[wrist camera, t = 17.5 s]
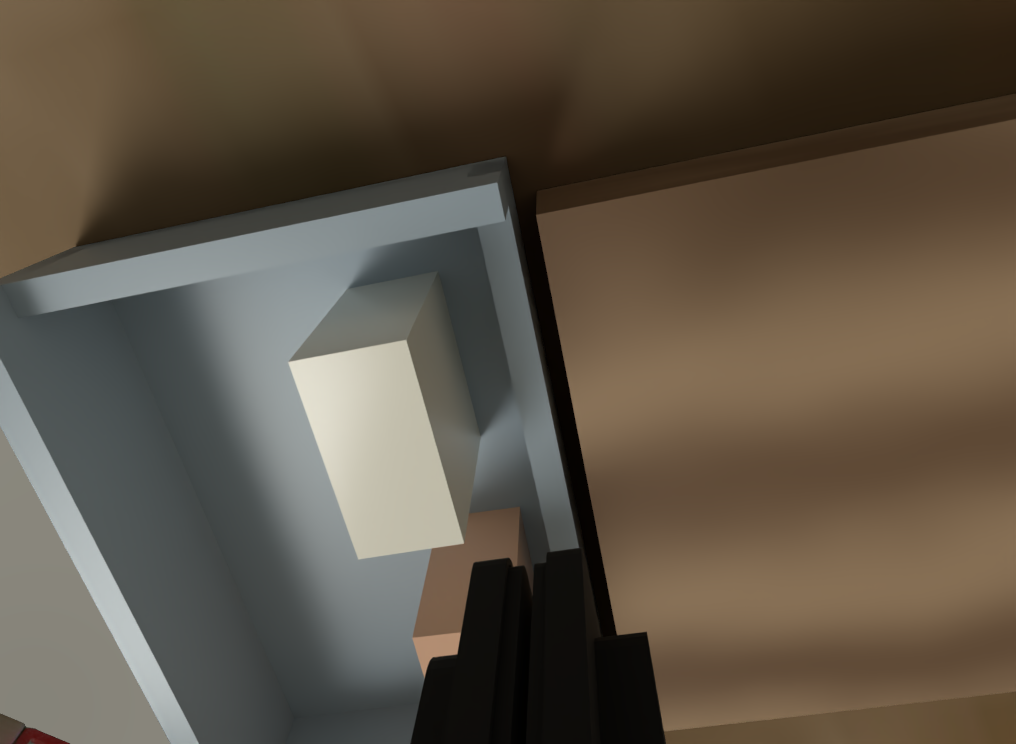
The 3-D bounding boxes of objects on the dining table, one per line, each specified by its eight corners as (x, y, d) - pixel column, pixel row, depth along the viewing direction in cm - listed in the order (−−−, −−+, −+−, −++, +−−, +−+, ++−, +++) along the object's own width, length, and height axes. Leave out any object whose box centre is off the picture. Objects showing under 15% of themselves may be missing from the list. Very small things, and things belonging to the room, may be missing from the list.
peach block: (548, 772, 19) (455, 781, 20) (546, 634, 24) (471, 643, 24) (514, 625, 18) (412, 638, 18) (519, 506, 22) (438, 517, 22)
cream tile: (464, 543, 17) (358, 559, 17) (480, 436, 21) (397, 450, 22) (406, 339, 15) (288, 361, 15) (438, 270, 19) (347, 288, 20)
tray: (612, 683, 26) (628, 821, 21) (285, 723, 27) (233, 860, 22) (505, 156, 19) (494, 191, 14) (73, 247, 20) (-65, 305, 15)
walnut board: (1065, 604, 23) (1135, 678, 21) (626, 659, 25) (636, 734, 22) (1124, 71, 17) (1235, 75, 15) (536, 191, 19) (536, 215, 16)
